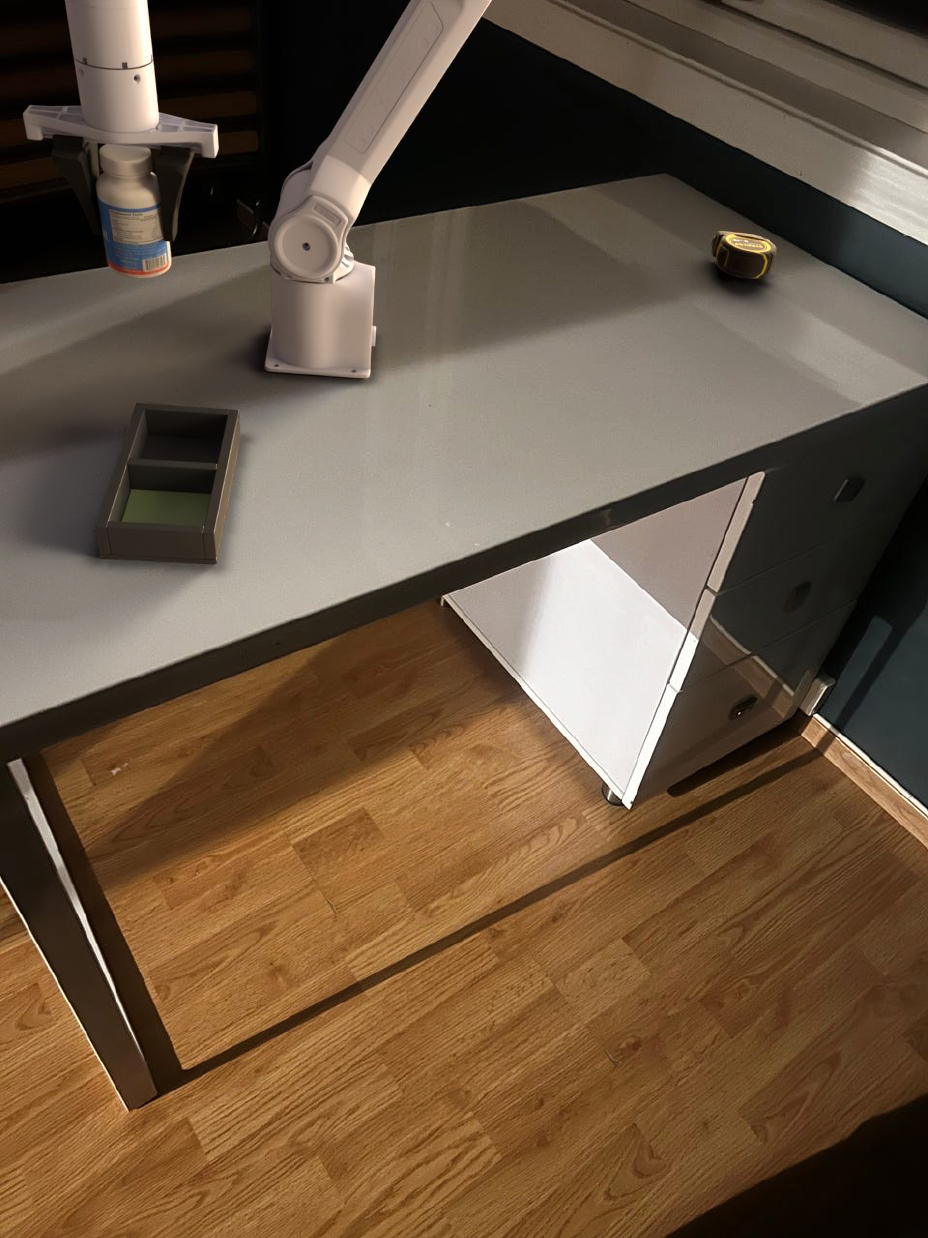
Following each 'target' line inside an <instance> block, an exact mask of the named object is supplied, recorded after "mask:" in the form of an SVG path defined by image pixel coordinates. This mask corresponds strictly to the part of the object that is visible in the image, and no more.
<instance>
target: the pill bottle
mask: <svg viewBox="0 0 928 1238" xmlns="http://www.w3.org/2000/svg"><path fill="white" fill-rule="evenodd" d="M98 152H99V153H98V155H99V161H100V163H99V164H100V167H101V170H102V173H101V174H99V177H98V179H97V181H96V193H97V199H98V206H99V212H100V219H101V226H102V232H103V233H102V237H103V245H104V251H105V256H106V257H105V258H106V263H107V265H108V267H109V269H110V270H111V271H112V272H114V273H115V274H118V275H119V276H122V277H126V278H129V279H139V280H141V279H150V278H151V279H152V278H155V277H158V276H160V275H163V274H165V273H167V271H168V270H169V269H170V268H171V266H172V251H171V242H168V241H165V239H164V233H163V218H162V203H161V197H160V191H159V186H158V181H157V177H156V173H154V172H153V169H154V163H153V156H152V152H151V148H143V147H133V146H123V145H113V144H104V145H102V146H101V147H100V148H99V151H98Z"/></svg>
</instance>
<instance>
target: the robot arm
mask: <svg viewBox="0 0 928 1238" xmlns="http://www.w3.org/2000/svg"><path fill="white" fill-rule="evenodd" d="M492 1H493V0H410V1H409V2H408V4H407V6H406V8H405V9H404V11H403V12H402V14H401V16H400V17H399V19H398V21H397V23H396V24H395V26H394V28H393V29H392V30H391V32H390V34H389V36H388V38H387V40H385V43H384V44H383V46H382V48H381V49H380V51H379V52H378V54H377V56H376V57H375V59H374V61H373V63H372V64H371V66H370V68H369V69H368V71H367V72H366V74H365V75H364V77H363V79H362V81H361V82H360V84H359V86H358V87H357V89H356V91H355V92H354V94H353V96H352V97H351V98H350V100H349V102H348V104H347V106H346V107H345V109H344V110H343V112H342V114H341V116H340V117H339V119H338V120H337V122H336V124H335V125H334V127H333V129H332V130H331V132H330V134H329V135H328V137H327V138H326V139H325V140H324V141H322V143H321V144H320V145H319V146H318V147H317V149H316V151H315V152H314V154H313V155H312V157H311V158H310V160H309V161H307V162H306V163H305V164H303V165H301V166H299V167H298V168H296V169H294V170H293V171H291V172H290V173H289V175H288V176H286V178H285V179H284V182H283V184H282V186H281V190H280V195H279V196H280V197H279V199H280V200H279V203H278V206H277V209H276V212H275V215H274V218H273V219H272V221H271V223H270V226H269V228H268V231H267V245H268V250H269V266H270V267H269V268H270V271H269V272H270V304H271V306H270V307H271V328H270V333H269V339H268V345H267V350H266V355H265V361H264V370H265V371H267V372H271V373H272V372H273V373H285V374H299V375H311V376H312V375H313V376H314V375H315V376H327V377H339V378H351V379H352V378H353V379H368V378H370V376H371V362H372V361H371V360H372V347H376V334H377V333H376V332H377V326H376V325H373V321H374V304H375V303H374V301H375V281H376V280H375V279H376V267H375V266H373V265H370V264H367V263H362V262H359V261H357V260H355V259H354V254H353V253H352V252H351V250H350V248H349V245H348V244H347V237H348V235H349V234H348V233H349V232H350V230H351V228H352V226H353V225H354V223H355V222H356V220H357V218H358V217H359V214H360V211H361V209H362V208H363V205H364V202H365V200H366V198H367V196H368V193H369V191H370V189H371V187H372V185H373V183H374V182H375V180H376V178H377V177H378V175H379V174H380V173H381V171H382V170H383V167H384V166H385V165H386V163H387V162H388V160H389V159H390V157H391V156H392V154H393V152H394V151H395V149H396V148H397V146H398V145H399V144H400V141H401V140H402V139H403V138H404V136H405V134H406V133H407V131H408V129H409V128H410V126H411V125H412V123H413V122H414V120H415V119H416V118H417V116H418V115H419V113H420V111H421V109H422V108H423V107H424V105H425V103H426V102H427V100H428V99H429V97H430V96H431V94H432V93H433V91H434V90H435V89H436V87H437V85H438V83H440V80H441V79H442V77H443V76H444V74H445V73H446V71H447V69H448V68H449V66H451V64H452V63H453V60H454V59H455V58H456V56H457V55H458V53H459V52H460V50H461V48H462V47H463V45H464V44H465V42H466V40H467V39H468V38H469V36H470V34H472V31H473V30H474V28H475V27H476V25H477V24H478V22H479V21H480V19H481V18H482V16H483V15H484V13H485V12H486V10H487V8H488V7H489V6H490V3H491V2H492ZM64 3H65V11H66V16H67V23H68V29H69V35H70V36H69V37H70V42H71V48H72V56H73V62H74V67H75V75H76V82H77V89H78V94H79V100H80V105H54V106H53V105H34V104H29V105H28V106H27V108H26V109H25V110H24V111H23V113H22V117H23V122H24V123H23V124H24V127H25V133H26V139H27V140H32V141H42V140H43V139H44V138H46V139H52V142H53V144H52V148H53V149H52V150H51V152H50V157H51V160H52V162H53V164H54V166H55V167H56V168H57V169H58V170H59V172H60V173H61V175H62V176H63V177H64V178H65V181H67V183H68V184H69V186H70V187H71V189H72V190H73V192H74V194H75V196H76V197H77V199H78V201H79V203H80V205H81V207H82V210H83V212H84V214H85V216H86V219H87V221H88V223H89V226H90V229H91V232H92V234H93V235H94V236H103V232H102V226H101V219H100V212H99V206H98V199H97V193H96V181H97V179H98V177H99V176H100V168H99V153H98V152H99V151H98V144H104V145H106V144H113V145H123V146H133V147H143V148H149V149H152V150H153V149H154V150H160V152H159V154H158V155H157V157H156V158H155V161H154V162H153V169H154V172H155V175H156V177H157V181H158V186H159V191H160V197H161V203H162V218H163V233H164V239H165V241H168V242H170V243H174V241H175V239H176V237H177V234H178V218H179V210H180V204H181V199H182V194H183V189H184V186H185V182H186V179H187V176H188V173H189V169H190V166H191V164H192V161H193V158H194V156H195V154H201V156H202V158H208V159H215V158H216V157H217V155H218V152H219V135H218V133H219V132H218V125H217V124H214V123H206V122H200V121H196V120H192V119H188V118H183V117H180V116H175V115H171V114H167V113H164V112H159V105H158V94H157V83H156V75H155V74H156V73H155V64H154V56H153V45H152V38H151V26H150V16H149V8H148V0H64Z"/></svg>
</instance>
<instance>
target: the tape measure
mask: <svg viewBox="0 0 928 1238" xmlns="http://www.w3.org/2000/svg"><path fill="white" fill-rule="evenodd" d="M710 246H711V247H710V248H711V255H712V257H713V258H715V259H714V261H715V265H716V266H717V267H718V268H719V269H720V270H721V271H722V272H724V273H726V274H728V275H731V276H734V277H736V278H738V279H739V278H740V279H748V280H753V279H754V280H755V279H756V280H757V279H762V278H765V277H767V276H768V275H769V274H770V273H771V271H772V269H773V266H774V264H775V261H776V257H777V254H778V253H777V252H778V249H777V247H776V245H775V244H774V243H773V242H772V241H771V240H770V239H768V238H767V237H763V236H760V235H756V234H750V233H743V232H733V231H725V230H718V231H717V232H716V233H715V234H714V235H713V236H712V240H711V242H710Z"/></svg>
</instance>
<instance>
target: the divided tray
mask: <svg viewBox="0 0 928 1238" xmlns="http://www.w3.org/2000/svg"><path fill="white" fill-rule="evenodd" d="M240 418H241V417H240V409H233V408H221V407H220V408H217V407H204V406H190V405H189V406H188V405H187V406H186V405H174V404H160V403H159V404H158V403H143V402H136V403H135V406H134V408H133V412H132V415H131V417H130V421H129V424H128V427H127V430H126V431H125V435H124V438H123V441H122V443H121V446H120V450H119V453H118V456H117V459H116V462H115V465H114V468H113V471H112V475H111V477H110V480H109V483H108V486H107V489H106V492H105V495H104V498H103V501H102V504H101V507H100V510H99V513H98V516H97V518H96V522H95V525H94V531H95V536H96V541H97V546H98V551H99V556H100V559H108V560H109V559H110V560H128V561H145V562H146V561H148V562H168V563H188V564H189V563H190V564H208V565H211V564H212V565H217V564H218V560H219V555H220V550H221V545H222V539H223V535H224V529H225V525H226V520H227V519H226V518H227V513H228V510H229V509H228V508H229V504H230V498H231V493H232V488H233V483H234V477H235V472H236V466H237V463H238V462H237V461H238V456H239V451H240V445H241V441H242V436H241V419H240Z"/></svg>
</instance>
